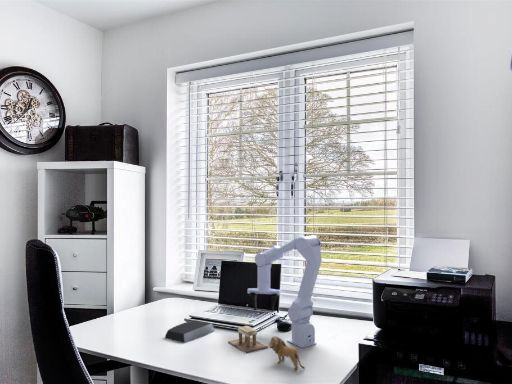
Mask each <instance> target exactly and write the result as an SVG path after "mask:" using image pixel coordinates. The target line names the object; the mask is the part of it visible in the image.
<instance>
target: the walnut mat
mask: <svg viewBox="0 0 512 384" xmlns="http://www.w3.org/2000/svg"><path fill="white" fill-rule="evenodd" d="M227 343H228V344H229V345H231V344H232V346H233V347H235V348H237V349H238V348H239V350H240V351H242V352H243V353H245V352H246V354H248V353H252V352H253V353H254V352H257V350H258V351H261V349H262V350H265V348H266V349H268V348H269V345H265V343H262V342H259V340H256V345H255V346H253V337H250V347H246V341H245V337H242V343H239V338H237V339H233V340H228V342H227Z"/></svg>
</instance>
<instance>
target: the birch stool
mask: <svg viewBox="0 0 512 384" xmlns="http://www.w3.org/2000/svg"><path fill="white" fill-rule="evenodd" d="M237 332H238V339H239V343H242V338H243V335H244V338H245V341H246V347H250V338H251V337H252V339H253V346H255V345H256V341H257V335H258V330H257V329H256V328H253V327H251V326H249V325H244V326H239V327H237Z"/></svg>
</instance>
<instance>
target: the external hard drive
mask: <svg viewBox="0 0 512 384" xmlns="http://www.w3.org/2000/svg"><path fill="white" fill-rule="evenodd" d="M213 332H215V327H214V325H213V323H210V322H209V323H208V322H205V321H199V320H190V321H187V322H184V323H180V324H178V325H175V326H173V327H171V328H169V329H168V330H167V332H166V333H165V336H164V339H168V340H171V341H174V342H175V341H176V342H179V343H183V344H186V343H187V344H188V343H190V342H192V341H195V340H198V339H200V338H203V337H205V336H208V335H209V334H211V333H213Z"/></svg>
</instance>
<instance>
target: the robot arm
mask: <svg viewBox="0 0 512 384" xmlns="http://www.w3.org/2000/svg"><path fill="white" fill-rule="evenodd" d="M321 249H322V242H321V240H320V239H319V237H318V236H317V235H315V234H313V235H309V236H307V235H306V236H298V237H296V238H293V239H291V240H289V241H288V242H287V243H284V244H283V245H281V246H280V245H272V246H270V248H269V249H265V250H263V252H258V253H256V255H254V262H255V264H256V266H257V287H255V288H254V287H253V288H252V287H251V288H250V287H249V288H247V294H249V295H248V296H249V298H250V301H251V303H252V305H253V310H254V311H256V310H258V309H257V308H258V301H257V297H258V295H259V294H260V295H270V300H271V301H270V302H271V304H270V305H271V306H270V307H271V308H270V311H271V312H274V310H275V309H274V308H275V305H276V301H277V299H278V296H280V295H281V289H275V288H271V268H272V264H273V263H274V262H276V261H278V260H281V259H282V258H283V257H284V254H286V253H288V252H291V251H294V250H295V251H297V252H298V253H299V254H300V255H301V256H302V257H303V258H304V259H305V261H306V264H305V266H304V271H303V275H302V279H301V282H300V285H299V289H298V293H297V297H296V298H295V299H294V300H293V301H292V303H291V305H290V307H289V308H288V311H287V315H288V316H287V317H289V319H290V322H291V338H289V339H287V342H289V343H291V344H293V345H295V346H297V347H299V348H306V347H309V346H313V345H317V342H316V339H315V338H316V335H315V334H316V330H315V326H314V325H313V324H312V323H311V322H310V320H311V317H312V316H313V313H314V309H313V307H314V302H313V300H312V296H313V292H314V288H315V286H316V283H317V278H318V275H319V271H320V267H321V264H322V261H323V259H322V251H321Z"/></svg>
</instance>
